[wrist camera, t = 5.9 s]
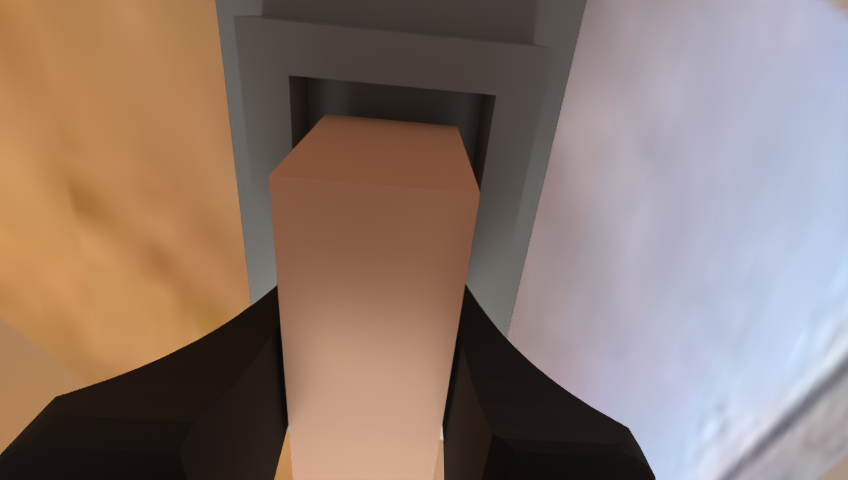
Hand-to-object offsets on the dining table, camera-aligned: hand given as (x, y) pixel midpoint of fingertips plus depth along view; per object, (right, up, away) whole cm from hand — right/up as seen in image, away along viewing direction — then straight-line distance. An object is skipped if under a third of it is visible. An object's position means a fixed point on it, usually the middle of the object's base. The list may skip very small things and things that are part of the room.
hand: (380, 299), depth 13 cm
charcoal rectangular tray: (0, +2, +3) cm, 3 cm away
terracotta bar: (0, +1, +1) cm, 1 cm away
